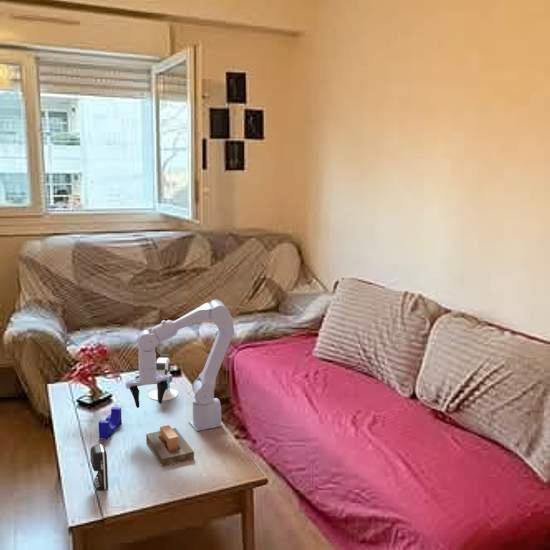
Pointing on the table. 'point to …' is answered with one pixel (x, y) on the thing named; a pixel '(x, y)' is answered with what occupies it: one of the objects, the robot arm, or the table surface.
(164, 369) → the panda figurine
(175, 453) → the brown board with holes
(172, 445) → the prong clip
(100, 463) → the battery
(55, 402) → the table surface
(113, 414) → the blue cradle block
